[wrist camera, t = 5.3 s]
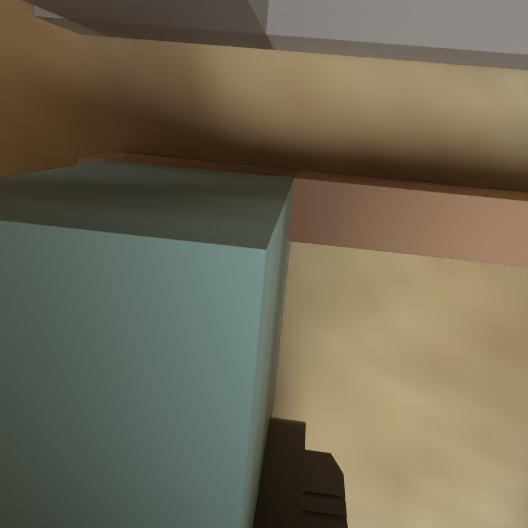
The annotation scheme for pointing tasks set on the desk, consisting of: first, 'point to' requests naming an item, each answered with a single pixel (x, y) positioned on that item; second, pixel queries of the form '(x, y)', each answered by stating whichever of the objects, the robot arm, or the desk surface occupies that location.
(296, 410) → the desk surface
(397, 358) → the desk surface
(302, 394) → the desk surface
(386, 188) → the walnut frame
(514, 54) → the charcoal frame
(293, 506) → the robot arm
